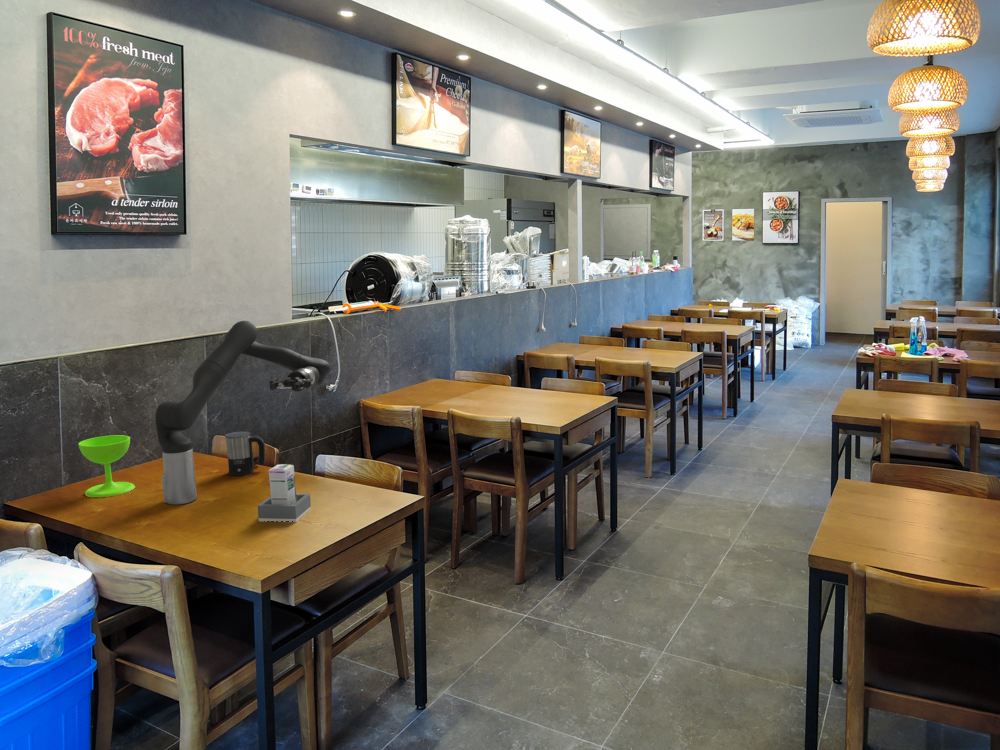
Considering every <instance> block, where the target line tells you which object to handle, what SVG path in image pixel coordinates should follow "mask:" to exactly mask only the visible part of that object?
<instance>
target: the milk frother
mask: <svg viewBox="0 0 1000 750" xmlns="http://www.w3.org/2000/svg"><path fill="white" fill-rule="evenodd" d="M224 438H225V442H226V443H225V444H226V454H227V462H228V463H227V464H228V473H227V474H228V475H229V474H230V476H233V475H237V476H245V475H249V474H251V473H254V471H255V469H254V468H255V466H256V465H257V464H259V466H264V465H265V463H266V446H265V445H266V444H265V441H264V439H263V438H262V437H261V436H258V435H251V432H250V431H235V432H229V433H226V434H225V435H224ZM253 443H257V445H258V455H256V456H254V453H253Z"/></svg>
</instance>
